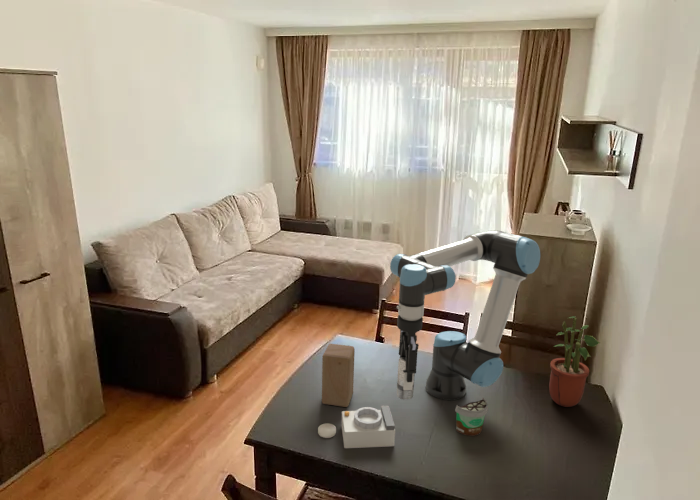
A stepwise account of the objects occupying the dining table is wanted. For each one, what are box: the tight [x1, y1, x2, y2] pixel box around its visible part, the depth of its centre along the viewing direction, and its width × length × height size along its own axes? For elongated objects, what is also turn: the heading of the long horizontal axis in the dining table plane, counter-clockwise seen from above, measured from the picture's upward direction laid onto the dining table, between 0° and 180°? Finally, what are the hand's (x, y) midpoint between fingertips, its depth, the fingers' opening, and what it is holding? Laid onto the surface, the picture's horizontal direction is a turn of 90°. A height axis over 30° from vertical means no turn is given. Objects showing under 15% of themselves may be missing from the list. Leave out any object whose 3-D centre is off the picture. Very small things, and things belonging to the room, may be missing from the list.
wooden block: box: [321, 343, 356, 408], centre depth 181 cm, size 10×10×20 cm
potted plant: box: [547, 315, 601, 408], centre depth 183 cm, size 17×16×35 cm
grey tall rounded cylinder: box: [396, 357, 416, 401], centre depth 155 cm, size 5×5×12 cm
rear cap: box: [317, 422, 337, 439], centre depth 165 cm, size 6×6×2 cm
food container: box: [454, 397, 489, 437], centre depth 166 cm, size 12×6×10 cm, turn 117°
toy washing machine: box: [340, 405, 396, 449], centre depth 163 cm, size 16×11×8 cm
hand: (405, 384), depth 156 cm, fingers closed on grey tall rounded cylinder, 5 cm apart
